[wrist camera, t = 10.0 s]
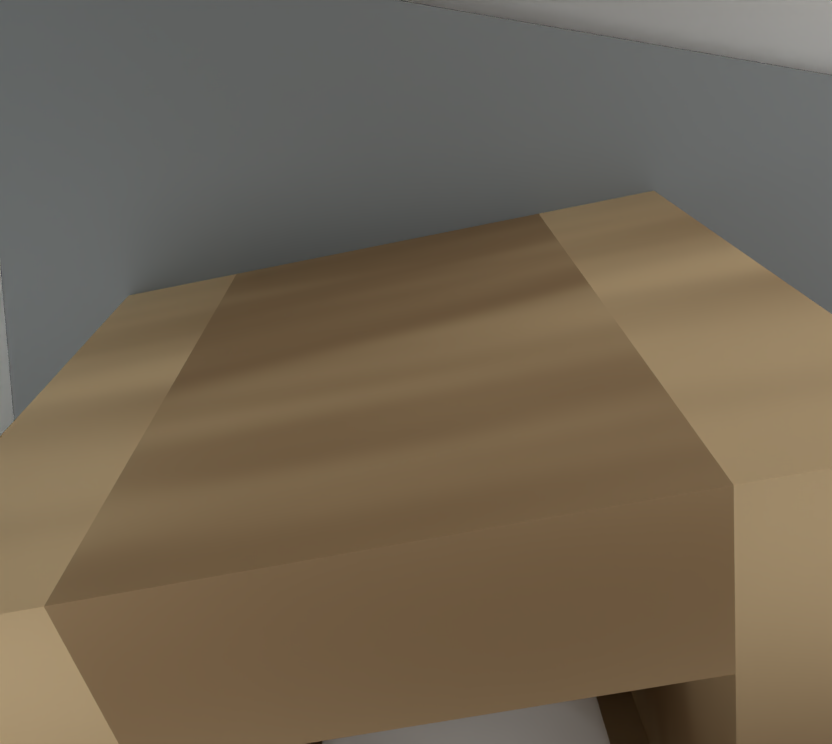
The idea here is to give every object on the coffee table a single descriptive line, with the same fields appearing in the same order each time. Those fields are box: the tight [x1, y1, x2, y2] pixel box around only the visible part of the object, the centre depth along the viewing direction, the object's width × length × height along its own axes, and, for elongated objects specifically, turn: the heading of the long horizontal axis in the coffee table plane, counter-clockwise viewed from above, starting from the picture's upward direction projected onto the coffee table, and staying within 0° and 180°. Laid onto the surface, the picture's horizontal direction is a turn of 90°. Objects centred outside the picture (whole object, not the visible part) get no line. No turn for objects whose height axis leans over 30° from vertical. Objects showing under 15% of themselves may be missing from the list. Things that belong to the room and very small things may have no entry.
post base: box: [0, 0, 832, 744], centre depth 11 cm, size 14×14×7 cm
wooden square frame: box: [0, 191, 832, 744], centre depth 10 cm, size 8×8×7 cm
